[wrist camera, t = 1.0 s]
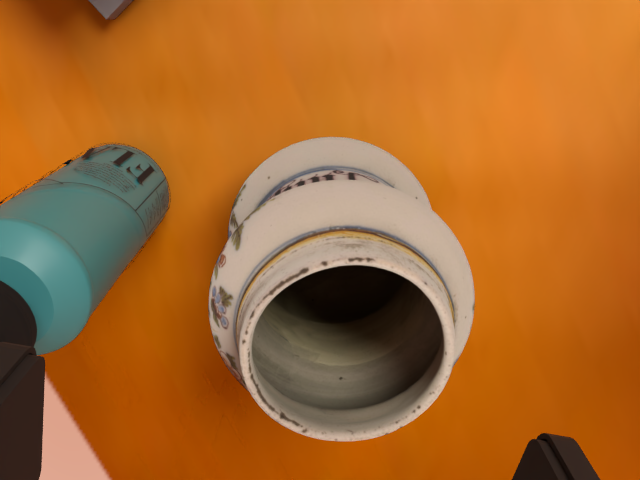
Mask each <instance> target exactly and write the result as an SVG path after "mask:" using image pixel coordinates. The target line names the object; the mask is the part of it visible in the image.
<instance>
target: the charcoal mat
mask: <svg viewBox="0 0 640 480" xmlns="http://www.w3.org/2000/svg"><path fill="white" fill-rule="evenodd" d="M89 1H90V2H91V4H92V5H93V6H94V7H95V8H96V9H97V10H98V11H99V12H100V13H101V14H102V15H103V17H104V18H105V19H116V18H117V17H118V16H119V15H120V13H121V12H122V11H123V10H124V9H125V8H126V7H127V6H128V5H129V4H130V3H131V2H132V1H133V0H89Z"/></svg>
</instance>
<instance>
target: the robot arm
mask: <svg viewBox="0 0 640 480" xmlns="http://www.w3.org/2000/svg"><path fill="white" fill-rule="evenodd" d="M44 379H45V360H44V358H43V357H41V356H37V355H36V350H35V348H34V347H31V346H25V345H19V344H13V343H7V342H0V480H39V477H40V472H41V462H42V461H41V460H42V434H43V407H44ZM512 480H600V479H599V477H598V475H597V474H596V472H595V471H594V469H593V467H592V466H591V464H590V463H589V461H588V459H587V458H586V456H585V455H584V453H583V451H582V450H581V448H580V447H579V445H578V443H577V442H576V441H575V440H574V439H572V438H570V437H565V436H559V435H553V434H547V433H543V434H540V435H539V436H538V437H537V439H532V440H531V441H529V443H528V445H527V447H526V449H525V452H524V454H523V456H522V458H521V461H520V463H519V465H518V467H517V470H516V472H515V474H514V476H513V479H512Z"/></svg>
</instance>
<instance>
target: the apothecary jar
mask: <svg viewBox="0 0 640 480" xmlns="http://www.w3.org/2000/svg"><path fill="white" fill-rule="evenodd" d="M474 303H475V297H474V284H473V278H472V273H471V269H470V266H469V263H468V260H467V258H466V255H465V253H464V251H463V249H462V247H461V245H460V243H459V242H458V240H457V238H456V237H455V235H454V234H453V232H452V231H451V230H450V228H449V227H448V226H447V224H446V223H445V222H444V221H443V220H442V219H441V218H440V217H439V216H438V215H437V214H436V213H435V212H434V211H433V210H432V209H431V206H430V203H429V200H428V197H427V195H426V193H425V191H424V189H423V188H422V186H421V184H420V183H419V181H418V180H417V179H416V177H415V176H414V175H413V174H412V172H411V171H410V170H409V169H408V168H407V167H406V166H405V165H404V164H403V163H401V162H400V161H399V160H398V159H396V158H395V157H394V156H392V155H391V154H389V153H388V152H386V151H384V150H383V149H381V148H379V147H377V146H374V145H372V144H369V143H366V142H363V141H360V140H355V139H350V138H343V137H322V138H314V139H309V140H305V141H301V142H298V143H295V144H293V145H290V146H288V147H286V148H284V149H282V150H280V151H278V152H277V153H275V154H273V155H272V156H271V157H269V158H268V159H267V160H265V161H264V162H263V163H262V164H261V165H259V166H258V167H257V168H256V169H255V170H254V171H253V173H252V174H251V175H250V176H249V177H248V178H247V180H246V181H245V183H244V184H243V186H242V187H241V189H240V191H239V193H238V195H237V197H236V199H235V202H234V204H233V207H232V211H231V215H230V221H229V227H228V241H227V243H226V244H225V246H224V248H223V250H222V251H221V253H220V255H219V258H218V260H217V262H216V265H215V268H214V271H213V274H212V278H211V282H210V289H209V305H208V309H209V319H210V326H211V331H212V335H213V338H214V341H215V344H216V347H217V349H218V352H219V354H220V356H221V358H222V360H223V361H224V363H225V364H226V366H227V367H228V369H229V370H230V372H231V373H232V374H233V375H234V377H235V378H236V379H237V380H238V381H239V382H240V384H241V385H242V386H243V387H244V388H245V389H246V390H248V391H249V392H250V394H251V395H252V397H253V398H254V400H255V401H256V402H257V404H258V405H259V406H260V407H261V408H262V409H263V411H264V412H265V413H266V414H268V415H269V416H270V417H271V418H272V419H274V420H275V421H276V422H278V423H280V424H281V425H283V426H284V427H286V428H288V429H290V430H292V431H295V432H297V433H299V434H302V435H305V436H309V437H313V438H317V439H321V440H328V441H360V440H366V439H372V438H376V437H380V436H383V435H386V434H389V433H391V432H393V431H395V430H397V429H399V428H401V427H403V426H405V425H406V424H408V423H410V422H411V421H413V420H414V419H416V418H417V417H418V416H419V415H421V414H422V413H423V412H424V411H425V410H427V409H428V408H429V407H430V406H431V404H432V403H433V402H434V401H435V400H436V399H437V397H438V396H439V395H440V393H441V392H442V390H443V388H444V386H445V385H446V383H447V381H448V378H449V376H450V373H451V370H452V368H453V366H454V365H455V363H456V361H457V360H458V358H459V356H460V354H461V353H462V351H463V348H464V346H465V344H466V342H467V339H468V336H469V333H470V330H471V327H472V321H473V315H474Z"/></svg>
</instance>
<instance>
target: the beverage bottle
mask: <svg viewBox="0 0 640 480" xmlns="http://www.w3.org/2000/svg"><path fill="white" fill-rule="evenodd" d="M104 144H106V143H104ZM118 144H120V143H118ZM99 145H100V144H99ZM124 145H125V144H124ZM124 145H115V144H107V145H105V146H100V147H96V148H93V147H92V148H91V149H90V148H89V150H88V151H87V152H86V153H85V154H84V155H82V156H81V157H79V158H77V159H76V160H74V161H73V159H74V157H73V159H72V160H68V161H67V162H65V163H63V164H67V165H66V166H64V167H63V168H61V169H59V170H58V171H56V172H54V171H55V170H54V171H52V172H54V173H53V174H51V173H52V172H51V171H50V172H51V173H50V174H51V175H50V174H49V175H50V176H48V177H46V178H45V179H43V178H44V177H45V176H46V175H45V176H44V177H43V178H42V179H40V180H41V181H40V182H37V183H36V184H34V185H33V186H32V187H30V188H28V189H27V190H26V189H24V190H25V191H23V190H22V191H23V192H22V193H20V194H18V195H17V196H15V197H13V198H11V199H10V200H9V201H7V202H5V203H4V204H2V205H1V206H0V342H7V343H13V344H19V345H25V346H31V347H34V348H35V350H36V355H41V354H46V353H49V352H52V351H55V350H58V349H60V348H62V347H64V346H65V345H67V344H68V343H70V342H71V341H72V340H73V339H75V338H76V337H77V336H78V334H79V333H80V332H81V331H82V329H83V328H84V327H85V325H86V323H87V322H88V319H89V317H90V316H91V314H92V313H93V312H94V310H95V309H96V308H97V306H98V305H99V303H100V302H101V301H102V299H103V298H104V297H105V295H106V294H107V292H108V291H109V290H110V288H111V287H112V286H113V284H114V283H115V281H116V280H117V279H118V277H119V276H120V275H121V273H122V272H124V269H125V268H126V267H127V265H128V264H129V262H130V261H131V260H132V259H133V258H134V257H135V255H136V254H137V253H138V251H139V250H140V249H141V248H142V247H143V245H144V243H145V242H146V241H147V239H148V238H149V237H150V235H152V233H153V232H154V230H155V229H156V228H157V226H158V225H159V224H160V222H161V221H162V219H163V218H164V216H165V214H166V211H167V210H168V209H169V208H168V202H169V192H168V187H169V185H167V183H168V182H167V180H166V177H165V175H164V173H163V171H162V170H161V168H160V167H159V166H158V165H157V163H156V162H155V161H154V160H153V159H152V158H151V157H150V156H148V155H147V154H145V153H144V152H142V151H141V150H139V149H137V148H136V149H135V148H134V147H132V146H131V147H129V145H128V146H124ZM94 147H95V146H94ZM80 154H81V153H80ZM76 157H77V156H76ZM71 161H72V162H71ZM70 162H71V163H70ZM61 166H62V165H61ZM58 168H59V166H58ZM58 168H57V169H58ZM36 181H37V180H36ZM31 183H32V182H31ZM28 185H29V184H28ZM28 185H27V186H28ZM27 186H26V187H27ZM23 188H24V187H23ZM21 189H22V188H21ZM21 189H20V190H21ZM169 191H170V189H169ZM16 192H17V191H16ZM17 193H18V192H17ZM11 195H12V194H11ZM11 195H10V196H11ZM15 195H16V194H15ZM7 198H8V197H7ZM7 198H5V199H7ZM3 202H4V200H3ZM1 203H2V201H1V202H0V204H1ZM169 207H170V206H169ZM167 208H168V209H167ZM154 233H155V232H154ZM152 236H153V235H152ZM149 240H150V238H149ZM146 244H147V243H146ZM144 247H145V246H144ZM141 251H142V250H141ZM138 255H139V254H138ZM133 262H134V261H133Z"/></svg>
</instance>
